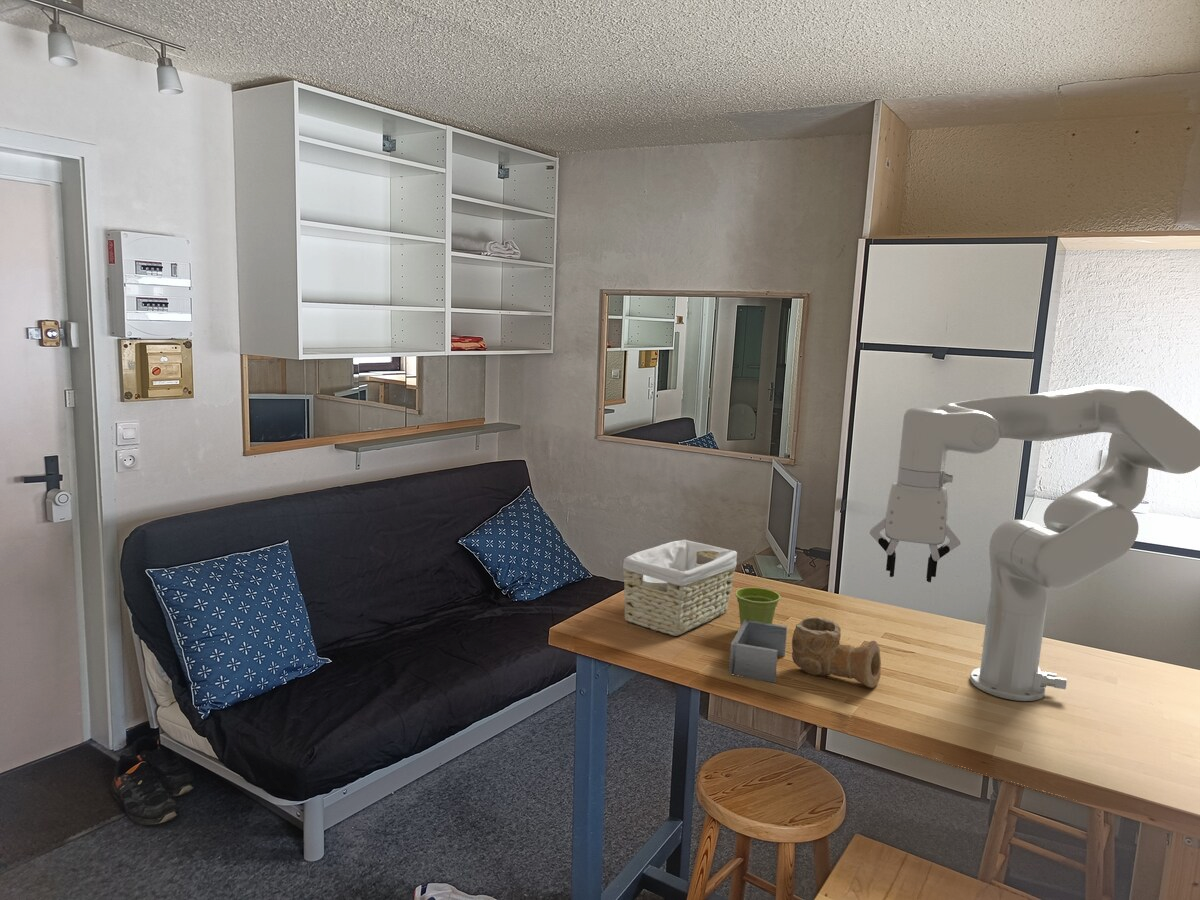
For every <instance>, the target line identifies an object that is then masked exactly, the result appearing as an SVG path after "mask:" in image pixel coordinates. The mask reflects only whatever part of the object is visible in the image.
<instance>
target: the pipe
mask: <svg viewBox="0 0 1200 900" xmlns="http://www.w3.org/2000/svg"><path fill="white" fill-rule="evenodd" d="M840 642H841V627H840V625H839V624H837V622H835V621H834V620H831V619H827V618H823V617H815V616H814V617H805V618H803V619H802V620H801V621H800V622H799V623H797V624H795V628H794V631H793V634H792V638H791V648H792V651H791V652H792V653H791V658H792V661H793V663H794V664H795V665H796V666H797V667H798V668H800V669H802V671H804V672H805V673H807V674H809V675H813V676H830V675H833V676H836V677H840V678H846V679H854V680H856V681H857V682H858V683H860V684H862V685H864V686H866V687H868V688H871V689H872V688H875V687H876V686H877V685H878V684H879V682H880V679H881V673H882V670H881V669H882V667H881V666H882V663H881V662H882V660H881V649H880V647H879V644H878V642H877V641H875V640H871V641H869V642H867V643H864V644H863V645H861V646H856V647H855V646H853V645H849V644H841V643H840Z"/></svg>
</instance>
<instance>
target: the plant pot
mask: <svg viewBox="0 0 1200 900" xmlns="http://www.w3.org/2000/svg"><path fill="white" fill-rule="evenodd" d="M734 595H735V597H736V600H737V603H738V611H739V622H740V624H739V626H740V627H741V625H742V623H743V621H744V620H751V621H757V622H763V623H770V624H773V623H774V616H775V611H776V607H778V604H779V601H780V600H781V594H780V593H778V592H776V591H775V590H772V589H768V588H763V587H757V586H756V587H752V586H751V587H750V586H748V587H741V588H739V589H737V590H735V593H734Z"/></svg>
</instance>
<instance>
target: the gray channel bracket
mask: <svg viewBox="0 0 1200 900" xmlns="http://www.w3.org/2000/svg"><path fill="white" fill-rule="evenodd" d="M787 633H788V626H786V625H781V624H776V623H772V624H770V623H763V622H757V621H751V620H744V621H743V623H742V625H741V626H740V627H739V628H738V631H737V632H736V634H735V636H734V638H733V640H732V641H731V643H730V655H729V669H728V674H729V673H730V674H734V675H733V676H735V675H739V676H738V677H740V676H743V677H742V678H746V677H747V678H748V679H751V678H752V679H751V680H756V679H757V680H758V681H763V682H768V683H774V684H775V683H776V678H777V677H776V675H777V667H778V666H777V663H778V657H783V656H784V657H785V655H786V647H787V637H788V636H787Z"/></svg>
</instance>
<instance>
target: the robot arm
mask: <svg viewBox="0 0 1200 900" xmlns="http://www.w3.org/2000/svg"><path fill="white" fill-rule="evenodd" d="M1097 433H1109V434H1110V438H1109V441H1108V449H1107V450H1108V451H1107V455H1106V460H1105V463H1104V465H1103V467H1102V468H1101V469H1100V471H1098V473H1096V474H1095V475H1093V476H1092V477H1090V478H1089V479H1087V480H1086V481H1083V482H1082V483H1080V484H1079V485H1077V486H1075V487H1074V488H1072V489H1071V490H1069V491H1067V492H1065V493H1064V494H1062V495H1060V496H1059V497H1058V498H1056V499H1054V500H1052V502H1050V504H1049V505H1048V506H1047V508H1046V509H1045V511H1044V513H1043V522H1044V526H1042V525H1041V524H1037V523H1035V522H1032V521H1029V520H1024V519H1011V520H1008V521H1005V522H1002V523H1001V524H1000V525H998V526H997V527H996V528H995V529H994V531H993V533H992V535H991V537H990V541H989V545H988V546H989V548H988V549H989V550H988V551H989V552H988V553H989V564H990V565H989V566H990V580H989V581H990V583H989V584H990V585H989V595H988V602H987V611H986V617H985V618H986V619H985V626H984V627H985V628H984V637H983V642H982V643H983V644H982V653H981V659H980V660H981V662H980V667H977V668H974V669H972V670H971V671H970V674H969V675H970V676H969V679H970V682H971V683H972V684H973V686H974V687H976V688H977V689H979V690H980V691H981V692H985V693H987V694H989V695H991V696H994V697H998V698H1001V699H1004V700H1005V699H1006V700H1012V701H1019V702H1031V701H1033V702H1034V701H1037V700H1041V699H1042V698H1043V697H1044V696H1045V694H1046V688H1047V687H1051V688H1054V689H1061V690H1066V688H1067V679H1066V678H1063V677H1057V673H1054V672H1046V671H1043V670H1042V669H1041V668H1040V658H1041V651H1042V643H1043V635H1044V628H1045V621H1046V615H1047V614H1046V613H1047V605H1048V604H1047V603H1048V590H1047V589H1052V590H1063V589H1067V588H1070V587H1072V586H1074V585H1077V584H1079V583H1080V582H1082V581H1084V580H1086V579H1087V578H1089V577H1090V576H1092V575H1093V574H1095V573H1097V572H1099V571H1101V570H1102V569H1103V568H1105V567H1107V566H1109V565H1110V564H1112V563H1114V562H1115V561H1117V560H1118V559H1120V558H1121V557H1122V556H1124V555H1125V554H1127V552H1129V550H1130V549H1131V548H1132V546H1133V545H1134V544H1135V542H1136V540H1137V539H1138V538H1137V537H1138V535H1139V521H1138V519H1137V516H1136V515H1135V514H1134V513H1133V510H1134V509H1135V508H1137V507H1138V506H1139V505H1140V504H1141V503H1142V501H1143V500H1144V498H1145V496H1146V491H1147V485H1148V476H1149V475H1148V474H1149V469H1153V470H1157V471H1161V472H1163V473H1164V472H1165V473H1167V474H1168V473H1170V474H1176V475H1178V474H1179V475H1182V474H1189V473H1192V472H1194V471H1195V470H1197V469H1198V468H1200V429H1199V428H1198V427H1197V426H1195V424H1193V423H1192V422H1190V421H1189V420H1188V419H1187V418H1185V416H1183V415H1181V414H1180V413H1179V412H1178V411H1176V410H1175V409H1174V408H1173V407H1172V406H1170V405H1169V404H1168V403H1167V402H1165V401H1164V400H1162V398H1160V397H1159V396H1157V395H1156V394H1154V393H1152V392H1150V391H1149V390H1146V389H1145V388H1141V387H1136V386H1135V387H1134V386H1127V385H1119V384H1110V383H1109V384H1108V383H1107V384H1106V383H1103V384H1101V383H1100V384H1098V383H1097V384H1091V385H1085V386H1080V387H1074V388H1073V387H1072V388H1067V389H1066V388H1065V389H1061V390H1055V391H1048V392H1041V393H1033V394H1030V393H1029V394H1020V395H1018V394H1017V395H1011V396H1000V397H988V398H980V399H979V398H978V399H977V398H976V399H970V400H965V401H964V400H963V401H959V402H957V401H956V402H951V403H946V404H943V405H940V406H938V407H937V408H930V407H912V408H908V409H907V410H906V411H905V412H904V415H903V421H902V430H901V442H900V449H899V450H900V452H899V459H898V460H899V461H898V471H897V481H894V482H892V484H891V488H890V491H889V495H888V501H887V507H886V512H885V517H884V518H882V520H880V521H879V522H878V523H877V524H876V525H874V526H873V527H872V528H870V529H869V535H870V536H871V537H872V538H873V539H874V540H875V541H876V542H877V543H878V545H879V546H880V547H881V548H882V549H883V550H884V551H885V553H886V555H887V556H886V557H887V558H886V566H885V571H886V572H887V571H888V572H889V578H893V577H894V576H895V569H896V558H897V555H896V554H897V552H896V548H897V546H898V544H899V542H905V543H906V542H907V543H913V544H914V543H915V544H923V545H928V547H929V550H930V555H929V556H928V559H927V568H926V577H925V578H926V582H928V583H931V582H932V578H936V576H937V570H938V569H937V567H938V561H939V560H940V559H941V558H943V557H944V556H946V555H947V554H949V553H950V551H952V550H954V549H956V548H957V547H959V546H960V545H961V540H960V539H959V537H958V536H957V535H956V533H955V532H954V531H953V530H952V529H951V527H950V526H949V525H948V503H949V501H948V497H949V496H948V489H947V487H945V486H944V485H945V484H948V483H949V484H950V483H951V484H952V483H953V479H954V475H953V474H948V473H947V472H945V467H946V459H947V451H953V452H959V453H964V454H973V455H976V454H977V455H978V454H983V453H986V452H988V451H990V450H991V449H993V448H994V447H996V446H997V444H998V443H999V441H1000V439H1011V440H1017V441H1019V440H1020V441H1027V442H1028V441H1029V442H1048V441H1053V440H1059V439H1060V440H1061V439H1064V438H1073V437H1077V436H1083V435H1085V436H1086V435H1090V434H1097ZM883 530H884V534H885V536H886V538H888V539H889V541H888V540H887V539H886V538H885V537H884V536H883V535H882V534H881V532H882V531H883ZM946 537H947V538H948V540H949V541H948V542H947V543H944V542H945V540H946ZM943 543H944V544H943ZM938 545H941V546H940V547H939V548H938Z"/></svg>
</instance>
